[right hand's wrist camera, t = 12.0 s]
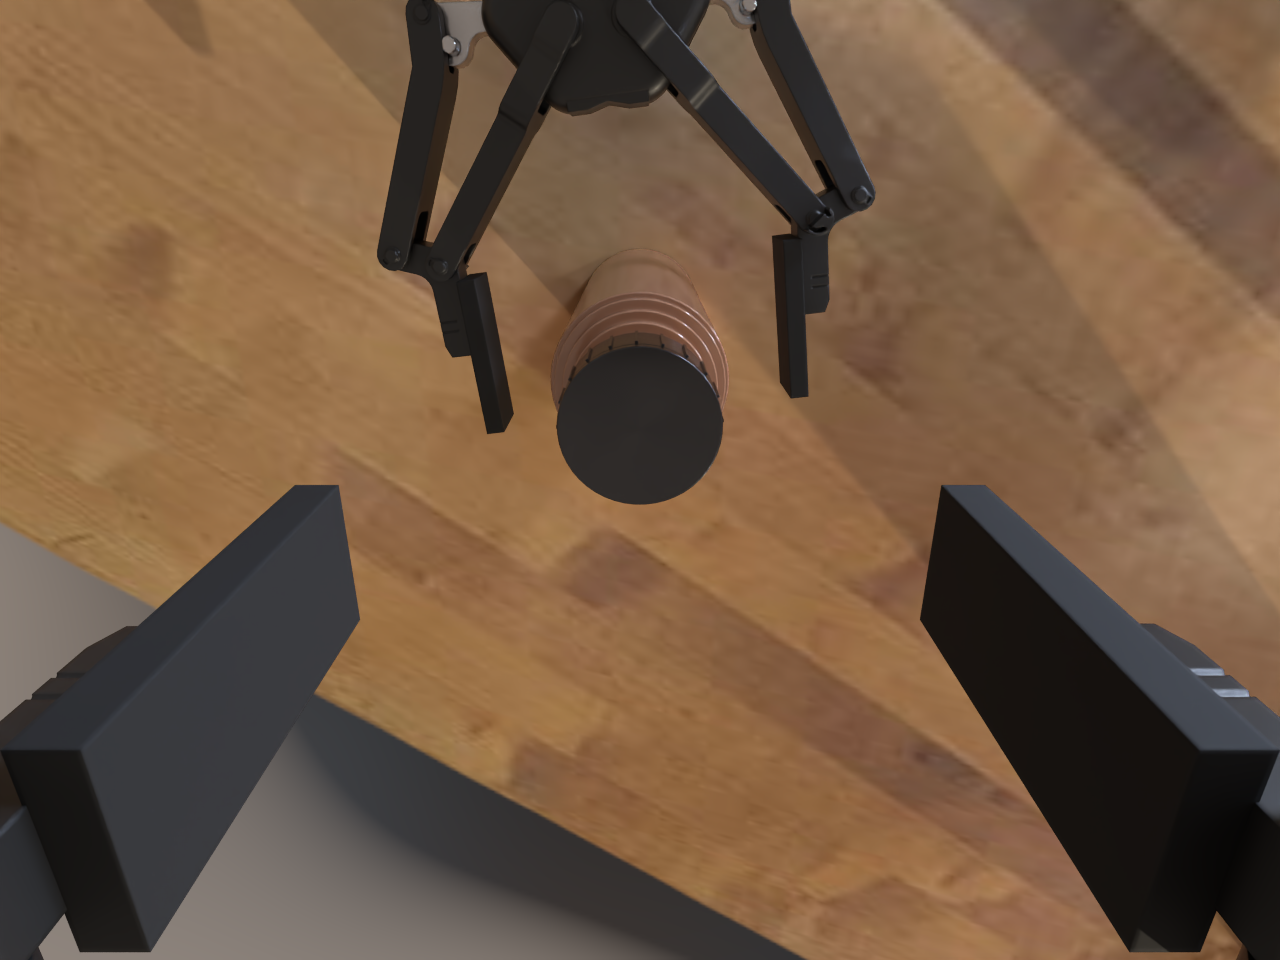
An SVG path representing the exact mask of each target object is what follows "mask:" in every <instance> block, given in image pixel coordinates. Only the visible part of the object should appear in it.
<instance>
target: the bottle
mask: <svg viewBox="0 0 1280 960" xmlns="http://www.w3.org/2000/svg"><path fill="white" fill-rule="evenodd" d="M635 331H638V332H646V333H654V334H658V335H660V333H662V334H663V335H664V336H666V337H668V338H670V339H673V340H675V341H677V342H679V343H680V344H682V345H683V344H685V345H686V346H687V348H688V349H689V350H690V351H691V352H692V353H693V354H694V355H695V356H696V357H697V358H698V359H699V360H700V361H702V360H703V362H704V364H705V367H706V370H707V372H708V374H709V375H710V378H711V380H712V382H715V385H716V387H717V390H718V393H719V396H720V397H719V398H718V400H719V403H720V407H721V411H723V409H724V406H725V403H726V399H727V394H728V388H729V371H728V363H727V359H726V354H725V352H724V349H723V346H722V344H721V341H720V339H719V337H718V335H717V333H716V331H715V329H714V327H713V325H712V323H711V321H710V319H709V317H708V315H707V313H706V310H705V308H704V306H703V304H702V302H701V300H700V298H699V296H698V294H697V292H696V290H695V288H694V286H693V284H692V282H691V280H690V278H689V276H688V275H687V273H686V272H685V270H684V269H683V268H682V267H681V266H680V265H679V264H678V263H677V262H676V261H674V260H673V259H672V258H670V257H668V256H667V255H665V254H662V253H660V252H657V251H654V250H649V249H631V250H626V251H623V252H620V253H617V254H615V255H613V256H611V257H610V258H608V259H607V260H606V261H604V262H603V263H602V264H601V265H600V266H599V267H598V268H597V269H596V270H595V272H594V273H593V274H592V276H591V278H590V280H589V281H588V283H587V285H586V288H585V290H584V292H583V294H582V296H581V298H580V300H579V302H578V304H577V306H576V308H575V310H574V312H573V314H572V316H571V318H570V320H569V322H568V325H567V327H566V329H565V331H564V333H563V335H562V337H561V339H560V341H559V343H558V346H557V348H556V351H555V354H554V358H553V362H552V368H551V390H552V395H553V400H554V403H555V406H556V410H557V412H558V410H559V406H560V404H558V401H559V398H560V396H561V393H562V390H563V388H566V385H567V382H568V378H569V375H570V372H571V369H572V367H573V365H574V366H576V365H577V363H578V362H579V361H580V359H581V358H582V357H583V356H584V355H585V354H586V353H587V352H588V349H589V348H590V347H591V348H593V347H595V346H596V345H598V344H599V343H601V342H603V341H605V340H607V339H609V338H610V336H612V335H613V337H614V336H618V335H621V334H626V333H634V332H635Z"/></svg>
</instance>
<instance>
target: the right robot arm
mask: <svg viewBox="0 0 1280 960" xmlns="http://www.w3.org/2000/svg"><path fill="white" fill-rule="evenodd" d="M359 620H360V616H359V610H358V604H357V597H356V591H355V585H354V579H353V572H352V566H351V560H350V554H349V547H348V541H347V535H346V529H345V523H344V516H343V510H342V504H341V498H340V491H339V485H295V486H294V487H292V488H291V489H290V490H289V491H288V492H287V493H286V494H285V495H283V496H282V497H281V498H280V499H279V500H278V501H277V502H276V503H275V504H273V505H272V506H271V507H270V508H269V509H268V510H267V511H266V512H265V513H263V514H262V515H261V516H260V517H259V518H258V519H257V520H256V521H255V522H253V523H252V524H251V525H250V526H249V527H248V528H247V529H246V530H245V531H243V532H242V533H241V534H240V535H239V536H238V537H237V538H236V539H235V540H233V541H232V542H231V543H230V544H229V545H228V546H227V547H226V548H224V549H223V550H222V551H221V552H220V553H219V554H218V555H217V556H216V557H214V558H213V559H212V560H211V561H210V562H209V563H208V564H207V565H206V566H204V567H203V568H202V569H201V570H200V571H199V572H198V573H197V574H196V575H194V576H193V577H192V578H191V579H190V580H189V581H188V582H187V583H186V584H184V585H183V586H182V587H181V588H180V589H179V590H178V591H177V592H175V593H174V594H173V595H172V596H171V597H170V598H169V599H168V600H167V601H165V602H164V603H163V604H162V605H161V606H160V607H159V608H158V609H157V610H155V611H154V612H153V613H152V614H151V615H150V616H149V617H148V618H147V619H145V620H144V621H143V622H142V623H141V624H140V625H139V626H126V627H124V628H122V629H121V630H119V631H117V632H115V633H113V634H111V635H109V636H108V637H106V638H104V639H102V640H100V641H98V642H96V643H94V644H93V645H91V646H89V647H87V648H86V649H84V650H83V651H82V652H81V653H80V654H79V655H77V656H76V657H75V658H74V659H73V660H72V661H70V662H69V663H68V664H67V665H66V666H65V667H63V668H62V669H61V670H60V671H59V672H57V677H56V678H51V679H49V680H48V681H47V682H46V683H45V684H43V685H42V686H41V687H40V688H39V689H38V690H36V691H35V692H34V693H33V694H32V699H31V700H25V701H24V702H22V703H21V704H20V705H19V706H18V707H17V708H15V709H14V710H13V711H12V712H11V713H9V714H8V715H7V716H6V717H5V718H4V719H2V720H1V721H0V960H44V959H43V957H42V955H41V952H40V950H39V948H38V947H39V945H40V944H41V943H42V941H43V940H44V939H45V938H46V936H47V935H48V934H49V932H50V931H51V930H52V929H53V927H54V926H55V925H56V923H57V922H58V921H59V920H60V918H61V917H62V916H63V914H64V913H65V916H66V918H67V921H68V923H69V926H70V928H71V931H72V933H73V936H74V938H75V941H76V944H77V946H78V948H79V951H80V952H151V951H152V949H153V947H154V946H155V944H156V943H157V941H158V939H159V938H160V936H161V935H162V933H163V931H164V930H165V928H166V927H167V925H168V924H169V922H170V920H171V919H172V917H173V916H174V914H175V912H176V911H177V909H178V908H179V906H180V904H181V903H182V901H183V900H184V898H185V897H186V895H187V893H188V892H189V890H190V889H191V887H192V885H193V884H194V882H195V881H196V879H197V877H198V876H199V874H200V873H201V871H202V870H203V868H204V866H205V865H206V863H207V862H208V860H209V858H210V857H211V855H212V854H213V852H214V851H215V849H216V847H217V846H218V844H219V843H220V841H221V839H222V838H223V836H224V835H225V833H226V831H227V830H228V828H229V827H230V825H231V823H232V822H233V820H234V819H235V817H236V816H237V814H238V812H239V811H240V809H241V808H242V806H243V804H244V803H245V801H246V800H247V798H248V797H249V795H250V793H251V792H252V790H253V789H254V787H255V785H256V784H257V782H258V781H259V779H260V778H261V776H262V774H263V773H264V771H265V770H266V768H267V766H268V765H269V763H270V762H271V760H272V759H273V757H274V755H275V754H276V752H277V751H278V749H279V747H280V746H281V744H282V743H283V741H284V739H285V738H286V736H287V735H288V733H289V732H290V730H291V728H292V727H293V725H294V724H295V722H296V720H297V719H298V717H299V716H300V714H301V712H302V711H303V709H304V708H305V706H306V705H307V703H308V701H309V700H310V698H311V697H312V695H313V693H314V692H315V690H316V689H317V687H318V686H319V684H320V682H321V681H322V679H323V678H324V676H325V674H326V673H327V671H328V670H329V668H330V666H331V665H332V663H333V662H334V660H335V659H336V657H337V655H338V654H339V652H340V651H341V649H342V647H343V646H344V644H345V643H346V641H347V639H348V638H349V636H350V635H351V633H352V632H353V630H354V628H355V627H356V625H357V624H358V622H359ZM920 620H921V622H922V624H923V625H924V627H925V628H926V630H927V632H928V633H929V635H930V636H931V638H932V639H933V641H934V643H935V644H936V646H937V647H938V649H939V651H940V652H941V654H942V655H943V657H944V659H945V660H946V662H947V663H948V665H949V666H950V668H951V670H952V671H953V673H954V674H955V676H956V678H957V679H958V681H959V682H960V684H961V686H962V687H963V689H964V690H965V692H966V693H967V695H968V697H969V698H970V700H971V701H972V703H973V705H974V706H975V708H976V709H977V711H978V712H979V714H980V716H981V717H982V719H983V720H984V722H985V724H986V725H987V727H988V728H989V730H990V732H991V733H992V735H993V736H994V738H995V739H996V741H997V743H998V744H999V746H1000V747H1001V749H1002V751H1003V752H1004V754H1005V755H1006V757H1007V758H1008V760H1009V762H1010V763H1011V765H1012V766H1013V768H1014V770H1015V771H1016V773H1017V774H1018V776H1019V778H1020V779H1021V781H1022V782H1023V784H1024V785H1025V787H1026V789H1027V790H1028V792H1029V793H1030V795H1031V797H1032V798H1033V800H1034V801H1035V803H1036V805H1037V806H1038V808H1039V809H1040V811H1041V812H1042V814H1043V816H1044V817H1045V819H1046V820H1047V822H1048V824H1049V825H1050V827H1051V828H1052V830H1053V831H1054V833H1055V835H1056V836H1057V838H1058V839H1059V841H1060V843H1061V844H1062V846H1063V847H1064V849H1065V851H1066V852H1067V854H1068V855H1069V857H1070V858H1071V860H1072V862H1073V863H1074V865H1075V866H1076V868H1077V870H1078V871H1079V873H1080V874H1081V876H1082V878H1083V879H1084V881H1085V882H1086V884H1087V885H1088V887H1089V889H1090V890H1091V892H1092V893H1093V895H1094V897H1095V898H1096V900H1097V901H1098V903H1099V904H1100V906H1101V908H1102V909H1103V911H1104V912H1105V914H1106V916H1107V917H1108V919H1109V920H1110V922H1111V924H1112V925H1113V927H1114V928H1115V930H1116V931H1117V933H1118V935H1119V936H1120V938H1121V939H1122V941H1123V943H1124V944H1125V946H1126V947H1127V949H1128V950H1129V952H1200V951H1201V949H1202V946H1203V944H1204V941H1205V939H1206V936H1207V933H1208V931H1209V928H1210V926H1211V923H1212V921H1213V918H1214V916H1215V913H1216V911H1217V912H1218V913H1219V914H1220V915H1221V917H1222V918H1223V919H1224V920H1225V922H1226V923H1227V924H1228V926H1229V927H1230V928H1231V929H1232V931H1233V932H1234V933H1235V934H1236V936H1237V937H1238V938H1239V940H1240V941H1241V942H1242V943H1243V945H1242V947H1241V950H1240V952H1239V955H1238V957H1237V959H1236V960H1280V717H1279V716H1277V715H1276V714H1275V713H1274V712H1273V711H1272V710H1270V709H1269V708H1268V707H1267V706H1266V705H1264V704H1263V703H1262V702H1261V701H1260V700H1259V699H1257V698H1256V697H1250V696H1249V691H1248V690H1247V689H1246V688H1244V687H1243V686H1242V685H1241V684H1240V683H1238V682H1237V681H1236V680H1235V679H1234V678H1233V677H1231V676H1230V675H1225V674H1224V670H1223V669H1222V668H1221V667H1220V666H1218V665H1217V664H1216V663H1215V662H1214V661H1213V660H1211V659H1210V658H1209V657H1208V656H1207V655H1205V654H1204V653H1203V652H1202V651H1201V650H1200V649H1198V648H1197V647H1196V646H1195V645H1193V644H1191V643H1189V642H1188V641H1186V640H1184V639H1182V638H1180V637H1178V636H1176V635H1174V634H1173V633H1171V632H1169V631H1167V630H1165V629H1163V628H1161V627H1159V626H1158V625H1156V624H1139V623H1138V622H1137V621H1136V620H1135V619H1133V618H1132V617H1131V616H1130V615H1129V614H1128V613H1127V612H1126V611H1125V610H1123V609H1122V608H1121V607H1120V606H1119V605H1118V604H1117V603H1116V602H1115V601H1113V600H1112V599H1111V598H1110V597H1109V596H1108V595H1107V594H1106V593H1105V592H1103V591H1102V590H1101V589H1100V588H1099V587H1098V586H1097V585H1096V584H1095V583H1093V582H1092V581H1091V580H1090V579H1089V578H1088V577H1087V576H1086V575H1084V574H1083V573H1082V572H1081V571H1080V570H1079V569H1078V568H1077V567H1076V566H1074V565H1073V564H1072V563H1071V562H1070V561H1069V560H1068V559H1067V558H1066V557H1064V556H1063V555H1062V554H1061V553H1060V552H1059V551H1058V550H1057V549H1056V548H1054V547H1053V546H1052V545H1051V544H1050V543H1049V542H1048V541H1047V540H1046V539H1044V538H1043V537H1042V536H1041V535H1040V534H1039V533H1038V532H1037V531H1035V530H1034V529H1033V528H1032V527H1031V526H1030V525H1029V524H1028V523H1027V522H1025V521H1024V520H1023V519H1022V518H1021V517H1020V516H1019V515H1018V514H1017V513H1015V512H1014V511H1013V510H1012V509H1011V508H1010V507H1009V506H1008V505H1007V504H1005V503H1004V502H1003V501H1002V500H1001V499H1000V498H999V497H998V496H997V495H995V494H994V493H993V492H992V491H991V490H990V489H989V488H988V487H986V486H985V485H941V491H940V498H939V504H938V510H937V516H936V523H935V529H934V535H933V541H932V548H931V554H930V560H929V566H928V572H927V579H926V585H925V591H924V597H923V604H922V610H921V616H920Z"/></svg>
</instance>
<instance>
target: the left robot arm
mask: <svg viewBox="0 0 1280 960" xmlns="http://www.w3.org/2000/svg"><path fill="white" fill-rule="evenodd" d="M713 4H716V5H720V6H721V7H723V8H724V9H725V10H726V11H727V13H728V16H729V18H730V20H731V22H732V24H733V25H734V26H735V27H737V28H739V29H749V28H750V33H751V36H752V39H753V43H754V46H755V48H756V50H757V53H758V55H759V57H760V59H761V61H762V63H763V65H764V67H765V69H766V71H767V73H768V75H769V77H770V79H771V81H772V83H773V85H774V87H775V89H776V91H777V93H778V95H779V97H780V99H781V101H782V103H783V105H784V107H785V109H786V111H787V113H788V115H789V117H790V119H791V121H792V123H793V125H794V127H795V129H796V131H797V133H798V135H799V137H800V139H801V141H802V143H803V145H804V147H805V149H806V151H807V153H808V155H809V157H810V159H811V161H812V163H813V165H814V167H815V169H816V171H817V173H818V175H819V177H820V179H821V181H822V183H823V185H824V187H825V190H823V191H821V192H819V193H817V194H814V193H813V191H812V190H811V189H810V188H809V187H808V186H807V185H806V183H805V182H804V181H803V180H802V179H801V178H800V177H799V176H798V174H797V173H796V172H795V171H794V170H793V169H792V168H791V166H790V165H789V164H788V163H787V162H786V161H785V160H784V159H783V157H782V156H781V155H780V154H779V153H778V152H777V151H776V149H775V148H774V147H773V146H772V145H771V144H770V143H769V141H768V140H767V139H766V138H765V137H764V136H763V135H762V134H761V132H760V131H759V130H758V129H757V128H756V127H755V126H754V124H753V123H752V122H751V121H750V120H749V119H748V118H747V117H746V115H745V114H744V113H743V112H742V111H741V110H740V109H739V107H738V106H737V105H736V104H735V103H734V102H733V101H732V100H731V98H730V97H729V96H728V95H727V94H726V93H725V92H724V90H723V89H722V88H721V87H720V86H719V84H718V83H717V81H716V80H715V78H714V77H713V75H712V74H711V73H710V72H709V70H708V69H707V68H706V67H705V66H704V65H703V64H702V62H701V61H700V60H699V59H698V58H697V57H696V56H695V55H694V53H693V52H692V51H691V50H690V49H689V48H688V47H689V45H690V43H691V41H692V39H693V37H694V35H695V33H696V31H697V29H698V27H699V25H700V23H701V21H702V19H703V17H704V15H705V13H706V11H707V8H708V6H709V5H713ZM406 21H407V28H408V36H409V44H410V52H411V60H412V71H411V76H410V81H409V87H408V92H407V97H406V102H405V108H404V113H403V118H402V123H401V129H400V134H399V139H398V144H397V150H396V155H395V160H394V165H393V171H392V176H391V181H390V186H389V192H388V197H387V202H386V207H385V213H384V218H383V223H382V228H381V234H380V239H379V244H378V249H377V257H378V260H379V262H380V264H381V265H382V266H383V267H384V268H386V269H388V270H392V271H396V270H400V271H404V272H409V273H413V274H417V275H420V276H422V277H424V278H425V279H426V280H427V281H428V282H429V283H430V285H431V286H432V289H433V292H434V297H435V301H436V306H437V310H438V315H439V319H440V323H441V329H442V332H443V338H444V342H445V347H446V348H447V350H448V351H449V353H450V354H451V356H452V357H461V356H469V355H471V358H472V363H473V368H474V373H475V377H476V382H477V387H478V392H479V397H480V402H481V406H482V411H483V416H484V421H485V426H486V430H487V434H492V433H500V432H504V431H505V430H506V428H507V426H508V424H509V422H510V420H511V418H512V416H513V414H514V413H513V407H512V402H511V397H510V392H509V387H508V381H507V376H506V371H505V366H504V360H503V355H502V350H501V345H500V340H499V334H498V329H497V324H496V319H495V313H494V308H493V303H492V298H491V293H490V287H489V282H488V277H487V272H484V273H476V274H469V275H468V276H467V271H466V269H467V268H468V267H469V266H468V265H467V264H468V262H469V260H470V258H471V256H472V255H473V253H474V251H475V249H476V247H477V245H478V243H479V241H480V239H481V237H482V235H483V233H484V231H485V230H486V228H487V226H488V224H489V222H490V220H491V218H492V216H493V214H494V212H495V210H496V208H497V206H498V205H499V203H500V201H501V199H502V197H503V195H504V193H505V191H506V189H507V187H508V185H509V183H510V181H511V179H512V178H513V176H514V174H515V172H516V170H517V168H518V166H519V164H520V162H521V160H522V158H523V156H524V154H525V153H526V151H527V149H528V147H529V145H530V143H531V141H532V139H533V137H534V136H535V134H536V133H537V132H538V130H539V129H540V127H541V125H542V123H543V122H544V120H545V118H546V116H547V114H548V112H549V110H550V108H551V106H552V107H553V108H555V109H556V110H558V111H560V112H563V113H566V114H570V115H571V116H578V115H585V114H591V113H594V112H596V111H598V110H600V109H602V108H605V107H607V106H617V107H624V108H637V107H644V106H649V103H651V102H654V101H655V100H657V99H658V98H659V97H660V96H661V95H662V94H663V93H664V92H665V91H666V90H667V91H668V92H669V93H670V94H671V95H672V96H673V97H674V98H675V100H676V101H677V102H678V103H679V104H680V105H681V106H682V107H683V108H684V109H685V110H686V111H687V112H688V113H689V114H690V115H691V116H692V117H693V118H694V119H695V120H696V121H697V122H698V123H699V124H700V125H701V126H702V128H703V129H704V130H705V131H706V132H707V133H708V134H709V135H710V136H711V138H712V139H713V140H714V141H715V142H716V143H717V144H718V145H719V146H720V147H721V149H722V150H723V151H724V152H725V153H726V154H727V155H728V156H729V157H730V158H731V160H732V161H733V162H734V163H735V164H736V165H737V166H738V167H739V168H740V170H741V171H742V172H743V173H744V174H745V175H746V176H747V177H748V178H749V179H750V181H751V182H752V183H753V184H754V185H755V186H756V187H757V188H758V189H759V191H760V192H761V193H762V194H763V195H764V196H765V197H766V198H767V199H768V200H769V202H770V203H771V204H772V205H773V206H774V207H775V208H776V209H777V210H778V211H779V213H780V214H781V215H782V216H783V217H784V218H785V219H786V220H787V221H788V223H789V224H790V225H791V234H783V235H775V236H772V243H773V261H774V280H775V298H776V317H777V335H778V353H779V372H780V383H781V385H782V386H783V388H784V389H785V391H786V392H787V393H788V395H789V396H790V398H800V397H808V373H807V348H806V323H805V314H812V313H821V312H825V310H826V308H827V305H828V302H829V276H828V274H829V268H828V236H829V233H830V230H831V229H832V227H833V226H834V225H835V224H836V223H837V222H839V221H840V220H842V219H844V218H846V217H848V216H850V215H852V214H854V213H856V212H858V211H863V210H866V209H868V208H869V207H870V206H871V205H872V203H873V201H874V199H875V193H876V192H875V188H874V185H873V183H872V181H871V179H870V177H869V175H868V173H867V171H866V169H865V166H864V164H863V162H862V160H861V158H860V156H859V154H858V152H857V150H856V148H855V146H854V143H853V141H852V139H851V137H850V135H849V133H848V131H847V129H846V127H845V125H844V122H843V120H842V118H841V116H840V114H839V112H838V110H837V108H836V106H835V104H834V101H833V99H832V97H831V95H830V93H829V91H828V89H827V87H826V85H825V83H824V80H823V78H822V76H821V74H820V72H819V70H818V68H817V66H816V64H815V62H814V59H813V57H812V55H811V53H810V51H809V49H808V47H807V45H806V43H805V41H804V38H803V36H802V34H801V32H800V30H799V28H798V26H797V24H796V22H795V20H794V17H793V15H792V12H791V4H790V0H483V1H471V2H444V3H438V2H435V1H434V0H409V1H408V3H407V5H406ZM485 36H489V37H490V38H491V40H492V41H493V42H494V43H495V44H496V45H497V47H498V48H499V49H500V50H501V51H502V52H503V53H504V55H505V56H506V57H507V58H508V59H509V60H510V61H511V63H512V64H513V65H514V66H515V67H516V68H517V71H516V73H515V75H514V77H513V79H512V81H511V83H510V85H509V87H508V89H507V91H506V93H505V95H504V97H503V99H502V102H501V104H500V107H499V111H498V115H497V117H496V119H495V121H494V123H493V125H492V127H491V129H490V131H489V133H488V135H487V137H486V139H485V141H484V143H483V145H482V147H481V149H480V151H479V153H478V155H477V157H476V159H475V161H474V163H473V165H472V167H471V169H470V171H469V173H468V175H467V177H466V179H465V181H464V183H463V185H462V187H461V189H460V191H459V193H458V195H457V197H456V199H455V201H454V203H453V205H452V207H451V209H450V211H449V213H448V215H447V217H446V219H445V221H444V223H443V225H442V227H441V229H440V231H439V233H438V235H437V237H436V239H435V241H434V243H432V242H428V241H426V237H427V232H428V227H429V223H430V218H431V213H432V209H433V204H434V199H435V194H436V190H437V185H438V180H439V176H440V171H441V166H442V161H443V157H444V152H445V147H446V143H447V138H448V133H449V129H450V124H451V119H452V114H453V110H454V105H455V100H456V95H457V88H458V73H459V72H458V69H461V68H465V67H467V66H468V65H469V64H470V63H471V61H472V59H473V54H474V48H475V45H476V43H477V42H478V41H479V40H480V39H481V38H483V37H485Z"/></svg>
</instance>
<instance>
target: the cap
mask: <svg viewBox="0 0 1280 960" xmlns="http://www.w3.org/2000/svg"><path fill="white" fill-rule="evenodd" d="M719 397H720V396H719V393H718V390H717V387H716V385H715V382H712V380H711V378H710V375H709V374H708V372H707V370H706V367H705V364H704V362H703V360H702V361H700V360H699V359H698V358H697V357H696V356H695V355H694V354H693V353H692V352H691V351H690V350H689V349H688V348H687V346H686V345H685V344H683V345H682V344H680V343H679V342H677V341H675V340H673V339H670V338H668V337H666V336H664V335H663V334H662V333H660V335H658V334H654V333H646V332H638V331H635V332H634V333H626V334H621V335H618V336H614V337H613V335H612V336H610V338H609V339H607V340H605V341H603V342H601V343H599V344H598V345H596V346H595V347H593V348H591V347H590V348H589V349H588V352H587V353H586V354H585V355H584V356H583V357H582V358H581V359H580V361H579V362H578V363H577V365H576V366H574V365H573V367H572V369H571V372H570V375H569V378H568V382H567V385H566V388H563V390H562V393H561V396H560V398H559V401H558V404H560V406H559V410H558V416H557V425H556V429H557V435H558V441H559V445H560V448H561V451H562V454H563V456H564V458H565V460H566V462H567V464H568V466H569V467H570V469H571V470H572V472H573V473H574V474H575V475H576V476H577V478H578V479H579V480H580V481H581V482H583V483H584V484H585V485H586V486H587V487H589V488H590V489H591V490H593V491H594V492H596V493H598V494H600V495H602V496H604V497H606V498H608V499H611V500H614V501H617V502H622V503H627V504H653V503H658V502H662V501H666V500H669V499H671V498H674V497H676V496H678V495H680V494H682V493H684V492H685V491H687V490H688V489H690V488H691V487H693V486H694V485H695V484H696V483H697V482H698V481H699V480H700V479H701V478H702V477H703V476H704V475H705V474H706V472H707V471H708V470H709V468H710V467H711V465H712V464H713V462H714V460H715V458H716V456H717V453H718V450H719V447H720V444H721V439H722V432H723V422H724V419H723V416H722V411H721V407H720V403H719V400H718V398H719Z"/></svg>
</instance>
